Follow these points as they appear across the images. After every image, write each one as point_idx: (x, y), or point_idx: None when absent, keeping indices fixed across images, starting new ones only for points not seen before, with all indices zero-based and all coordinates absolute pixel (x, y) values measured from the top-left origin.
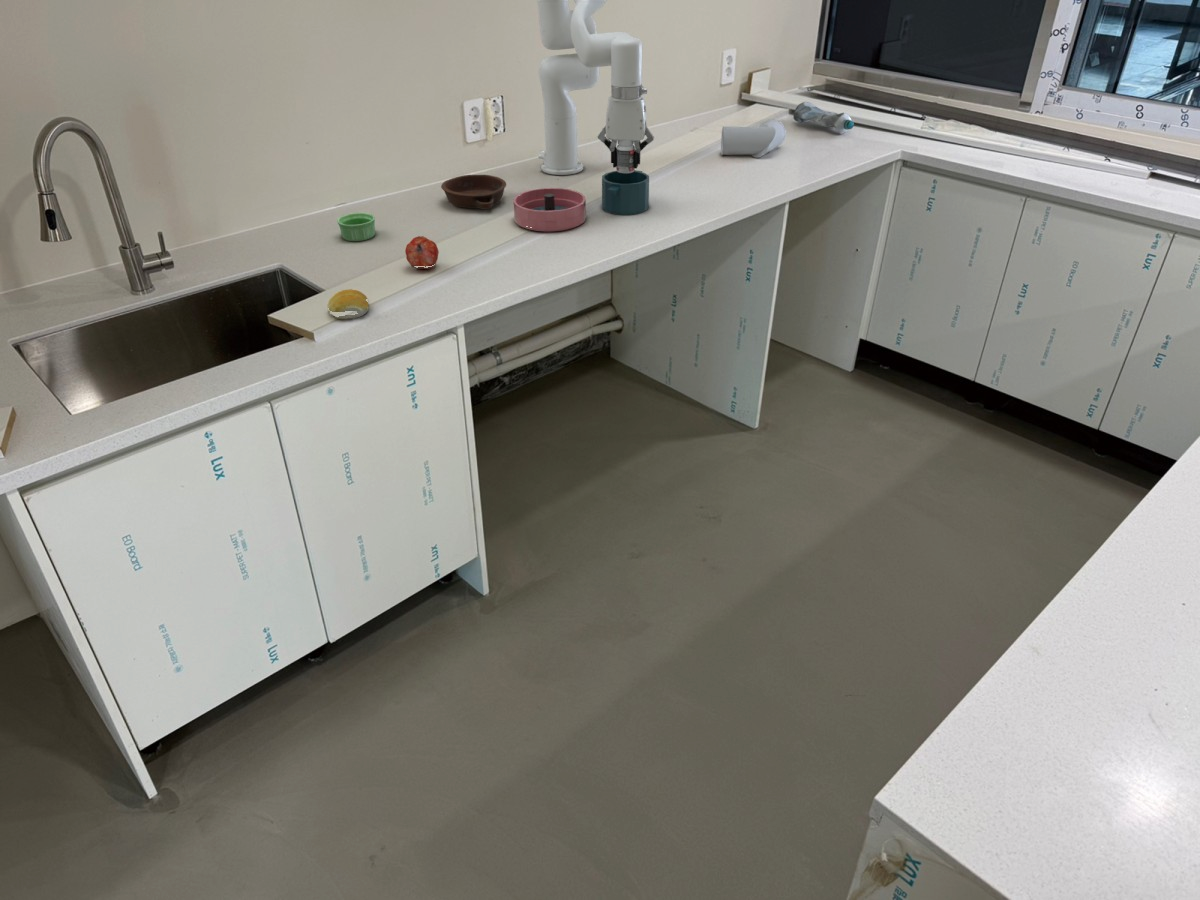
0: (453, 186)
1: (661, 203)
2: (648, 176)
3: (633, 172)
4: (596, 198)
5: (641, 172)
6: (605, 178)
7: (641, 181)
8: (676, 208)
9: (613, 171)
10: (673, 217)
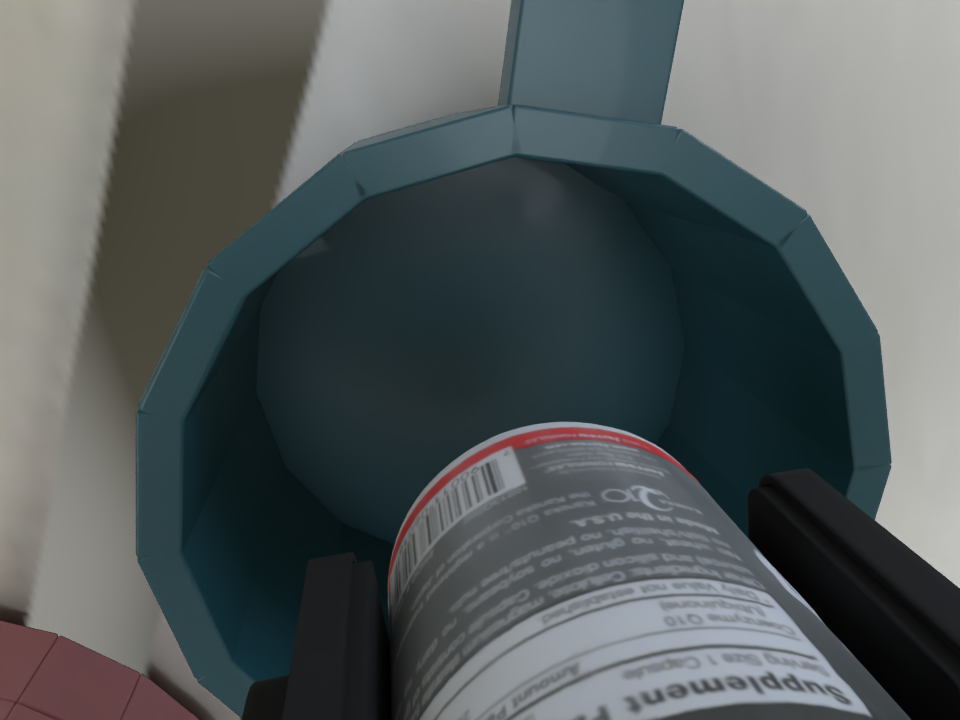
0: None
1: (806, 140)
2: (873, 365)
3: (581, 164)
4: (59, 178)
5: (737, 188)
6: (193, 503)
7: (689, 215)
8: (956, 246)
9: (226, 280)
10: (936, 475)
